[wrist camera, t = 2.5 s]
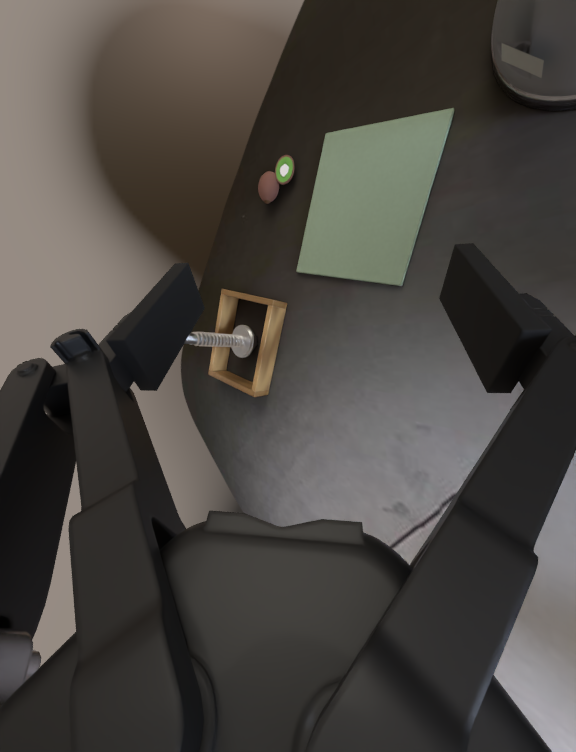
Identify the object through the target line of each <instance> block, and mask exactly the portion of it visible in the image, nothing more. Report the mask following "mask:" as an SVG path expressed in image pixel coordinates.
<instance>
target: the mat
mask: <svg viewBox="0 0 576 752" xmlns="http://www.w3.org/2000/svg"><path fill="white" fill-rule="evenodd" d="M454 112H455V111H454V108H451V109H446V110H441V111H436V112H431V113H426V114H421V115H416V116H411V117H406V118H401V119H396V120H391V121H386V122H381V123H376V124H371V125H366V126H361V127H356V128H350V129H345V130H340V131H335V132H330V133H326V135H325V140H324V145H323V149H322V154H321V159H320V163H319V168H318V173H317V177H316V182H315V187H314V191H313V196H312V201H311V205H310V210H309V215H308V219H307V224H306V229H305V233H304V238H303V243H302V247H301V252H300V257H299V261H298V266H297V271H296V272H299V273H306V274H314V275H321V276H329V277H336V278H344V279H351V280H359V281H366V282H374V283H381V284H388V285H396V286H402V285H403V282H404V278H405V275H406V272H407V268H408V265H409V262H410V258H411V255H412V252H413V248H414V245H415V242H416V238H417V235H418V232H419V228H420V225H421V222H422V218H423V215H424V212H425V208H426V205H427V202H428V198H429V195H430V192H431V188H432V185H433V182H434V178H435V175H436V172H437V169H438V165H439V162H440V159H441V155H442V152H443V149H444V145H445V142H446V139H447V135H448V132H449V129H450V125H451V122H452V119H453V115H454Z"/></svg>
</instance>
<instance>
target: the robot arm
mask: <svg viewBox="0 0 576 752" xmlns="http://www.w3.org/2000/svg"><path fill="white" fill-rule="evenodd" d="M491 49H492V66H493V72H494V75H495V78H496V80H497V82H498V84H499V86H500V87H501V89H502V90H503V92H504V93H505V94H506V95H508V96H509V97H510V98H511V99H513V100H514V101H515V102H517V103H519V104H522V105H524V106H527V107H530V108H534V109H540V110H551V111H555V110H570V109H576V0H498V2H497V5H496V10H495V15H494V20H493V26H492V35H491ZM439 299H440V301H441V303H442V305H443V307H444V309H445V311H446V313H447V315H448V317H449V319H450V320H451V322H452V324H453V326H454V328H455V330H456V332H457V334H458V336H459V338H460V340H461V342H462V344H463V346H464V348H465V350H466V352H467V354H468V356H469V358H470V360H471V362H472V364H473V366H474V368H475V370H476V372H477V374H478V376H479V378H480V380H481V381H482V383H483V385H484V387H485V389H486V391H487V393H511V392H512V390H513V389H514V387H515V386H516V384H517V383H518V381H519V382H520V384H521V385H522V387H523V388H524V391H523V392H522V394H521V395H520V396H519V398H518V399H517V401H516V402H515V404H514V405H513V406H512V408H511V409H510V412H509V413H508V415H507V416H506V418H505V420H504V421H503V423H502V424H501V426H500V427H499V429H498V430H497V432H496V433H495V435H494V437H493V438H492V440H491V441H490V443H489V444H488V446H487V447H486V449H485V450H484V452H483V454H482V455H481V457H480V458H479V460H478V461H477V463H476V464H475V466H474V467H473V469H472V471H471V472H470V474H469V475H468V477H467V478H466V480H465V481H464V483H463V484H462V486H461V488H460V489H459V491H458V492H457V494H456V495H455V497H454V498H453V500H452V501H451V503H450V505H449V506H448V508H447V509H446V511H445V512H444V514H443V515H442V517H441V518H440V520H439V522H438V523H437V525H436V526H435V528H434V529H433V531H432V532H431V534H430V535H429V537H428V538H427V540H426V541H425V543H424V544H423V546H422V547H421V549H420V550H419V552H418V553H417V555H416V556H415V558H414V559H413V561H412V562H411V564H410V565H409V564H408V563H407V562H406V561H405V560H404V559H403V558H402V557H401V556H400V555H399V554H398V553H397V552H395V551H394V550H393V549H392V548H391V547H389V546H388V545H386V544H385V543H383V542H382V541H381V540H379V539H377V538H375V537H373V536H371V535H368V534H366V533H363V529H362V522H351V521H338V520H325V519H321V520H316V521H311V522H306V523H301V524H297V525H292V526H287V527H278V526H276V525H273V524H271V523H268V522H265V521H263V520H260V519H258V518H255V517H253V516H250V515H247V514H245V513H234V512H220V511H209V514H208V517H207V521H205V522H202V523H199V524H196V525H193V526H191V527H189V528H187V529H186V528H185V526H184V524H183V523H182V521H181V519H180V517H179V515H178V513H177V510H176V507H175V504H174V502H173V499H172V496H171V493H170V491H169V488H168V485H167V482H166V480H165V477H164V474H163V472H162V469H161V466H160V463H159V461H158V458H157V455H156V452H155V450H154V447H153V444H152V441H151V439H150V436H149V433H148V430H147V428H146V425H145V422H144V420H143V417H142V414H141V411H140V409H139V406H138V403H137V401H136V398H135V395H134V393H133V391H132V390H131V389H130V386H131V385H132V383H133V382H134V381H135V383H136V384H137V386H138V387H139V389H140V390H154V391H155V390H156V391H157V389H158V387H159V386H160V384H161V382H162V381H163V379H164V377H165V375H166V374H167V372H168V370H169V369H170V367H171V365H172V363H173V362H174V360H175V358H176V357H177V355H178V353H179V351H180V350H181V348H182V346H183V345H184V343H185V341H186V339H187V338H188V336H189V334H190V332H191V331H192V329H193V327H194V326H195V324H196V322H197V320H198V319H199V317H200V315H201V314H202V312H203V310H204V305H203V302H202V300H201V297H200V294H199V291H198V289H197V286H196V283H195V281H194V277H193V275H192V272H191V269H190V267H189V264H188V263H179V264H174V265H173V266H172V267H171V269H170V270H169V271H168V272H167V273H166V274H165V275H164V276H163V278H162V279H161V280H160V281H159V282H158V283H157V284H156V285H155V286H154V287H153V289H152V290H151V291H150V292H149V293H148V294H147V295H146V296H145V298H144V299H143V300H142V301H141V302H140V303H139V304H138V305H137V306H136V308H135V309H134V310H133V311H132V312H130V313H129V314H127V315H126V316H124V317H123V318H122V319H121V320H120V322H119V323H118V325H116V326H115V327H114V328H113V331H110V332H109V334H108V335H107V336H106V337H105V338H104V339H103V340H102V341H101V342H100V344H99V345H98V344H97V343H96V341H95V340H94V339H93V337H92V336H91V334H90V333H89V332H88V331H87V330H85V329H76V330H72V331H69V332H67V333H65V334H62V335H61V336H59V337H58V338H56V339H55V340H54V341H53V342H52V344H51V348H52V349H53V350H54V352H55V353H56V354H57V355H58V356H59V357H60V358H61V360H62V361H63V362H64V363H65V364H63V365H59V366H54V367H52V366H51V365H50V364H49V363H48V362H47V361H46V360H45V359H42V358H37V359H32V360H29V361H25V362H23V364H19V365H18V366H17V367H16V368H15V369H13V370H12V371H11V373H10V374H9V375H8V377H7V379H6V381H5V383H4V385H3V386H2V388H1V390H0V752H552V751H551V750H550V748H549V747H548V746H547V745H546V743H545V742H544V741H543V739H542V738H541V737H540V735H539V734H538V733H537V731H536V730H535V729H534V727H533V726H532V725H531V724H530V722H529V721H528V720H527V718H526V717H525V716H524V714H523V713H522V712H521V710H520V709H519V708H518V707H517V705H516V704H515V703H514V701H513V700H512V699H511V697H510V696H509V695H508V693H507V692H506V691H505V690H504V688H503V687H502V686H501V684H500V683H499V682H498V680H497V679H496V678H495V676H494V675H493V674H494V672H495V669H496V667H497V664H498V662H499V659H500V657H501V655H502V652H503V650H504V647H505V645H506V642H507V640H508V638H509V635H510V633H511V630H512V628H513V625H514V623H515V621H516V618H517V616H518V613H519V611H520V608H521V606H522V604H523V601H524V599H525V596H526V594H527V591H528V589H529V587H530V584H531V582H532V579H533V577H534V574H535V571H536V568H537V565H538V556H537V555H536V554H535V553H534V546H535V543H536V540H537V538H538V536H539V533H540V531H541V529H542V526H543V524H544V522H545V520H546V517H547V515H548V513H549V510H550V508H551V506H552V504H553V501H554V499H555V497H556V494H557V492H558V490H559V487H560V485H561V483H562V481H563V478H564V476H565V474H566V471H567V469H568V467H569V464H570V462H571V460H572V458H573V455H574V453H575V451H576V336H574V335H573V334H572V333H571V332H570V331H569V330H568V329H567V328H566V327H565V326H564V325H563V324H562V323H561V322H560V321H559V320H558V319H557V318H556V317H555V316H553V315H554V314H553V313H552V312H551V311H550V310H547V307H546V306H545V305H544V304H543V303H542V302H541V301H540V300H538V299H536V298H534V297H533V296H531V295H529V294H527V293H524V294H519V293H518V292H517V291H516V290H515V289H514V288H513V287H512V286H511V285H510V283H509V282H508V281H507V280H506V279H505V278H504V277H503V276H502V275H501V273H500V272H499V271H498V270H497V269H496V268H495V267H494V266H493V265H492V264H491V262H490V261H489V260H488V259H487V258H486V257H485V256H484V255H483V254H482V253H481V251H480V250H479V249H478V248H477V247H476V246H475V245H474V244H473V243H471V244H456V245H455V246H454V250H453V253H452V257H451V260H450V263H449V267H448V270H447V274H446V277H445V281H444V284H443V288H442V291H441V294H440V298H439ZM45 412H46V413H47V415H46V413H45ZM76 462H77V471H78V480H79V488H80V497H81V506H82V507H81V512H79V513H77V514H76V515H74V516H73V517H72V518H71V520H70V522H69V540H70V555H71V568H72V580H73V594H74V608H75V622H76V632H75V634H73V635H72V636H71V637H70V638H69V639H68V640H67V641H66V642H65V643H64V644H63V645H62V646H61V647H60V648H59V649H58V650H57V651H56V652H55V653H54V654H53V655H52V656H51V657H50V658H49V659H48V660H47V661H46V662H45V663H44V664H43V665H42V666H41V667H40V663H41V656H40V653H39V652H38V651H34V650H33V642H32V639H33V637H34V634H35V632H36V630H37V627H38V624H39V621H40V618H41V615H42V612H43V609H44V607H45V603H46V599H47V595H48V591H49V587H50V584H51V579H52V574H53V569H54V565H55V560H56V555H57V550H58V545H59V540H60V536H61V531H62V526H63V521H64V517H65V511H66V507H67V502H68V497H69V493H70V488H71V482H72V478H73V473H74V468H75V464H76ZM39 667H40V668H39Z"/></svg>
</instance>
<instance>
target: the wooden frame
mask: <svg viewBox="0 0 576 752" xmlns="http://www.w3.org/2000/svg"><path fill="white" fill-rule="evenodd" d="M239 298H240V299H244V300H248V301H253V302H257V303H261V304H266V305H268V309H267V314H266V319H265V324H264V329H263V334H262V339H261V344H260V349H259V354H258V359H257V365H256V370H255V375H254V380H253V382H251V381H248V380H246V379H244V378H242V377H240V376H238V375H235V374H233V373H231V372H229V371H227V370H226V369H227V363H228V358H229V352H230V347H217V346H216V347H214V346H213V348H212V355H211V361H210V367H209V373H208V374H209V375H211V376H213V377H215V378H217V379H219V380H221V381H223V382H225V383H227V384H229V385H231V386H233V387H235V388H237V389H239V390H241V391H243V392H245V393H247V394H249V395H251V396H253V397H258V396H264V395H268V392H269V387H270V382H271V378H272V373H273V368H274V364H275V359H276V354H277V349H278V345H279V340H280V335H281V331H282V326H283V321H284V316H285V312H286V307H287V303H284V302H280V301H276V300H272V299H267V298H262V297H258V296H253V295H248V294H244V293H239V292H235V291H230V290H225V289H222V291H221V297H220V304H219V310H218V317H217V323H216V329H215V333H222V334H232V333H233V329H234V323H235V317H236V311H237V305H238V300H239Z"/></svg>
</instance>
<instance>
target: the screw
mask: <svg viewBox="0 0 576 752" xmlns="http://www.w3.org/2000/svg"><path fill="white" fill-rule="evenodd" d="M184 344H190V345H191V344H194V345H195V346H207V347H209V346H210V347H213V346H214V347H216V346H217V347H232V350H233V352H234V353H235V355H236V356H238V357H240V358H245V357H248V356H249V355H250V354H251V353H252V352H253V350H254V349H255V347H256V346H257V345H258V344H257V336H256V335H254V333H253V331H252V329H251V328H250V327H249V326H247V325H239V326H237V327H236V328H235V329H234V331H233V333H232V334H222V333H210V332H209V333H208V332H192V333H190V334H189V336H188V338H187V339H186V341H185V343H184Z"/></svg>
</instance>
